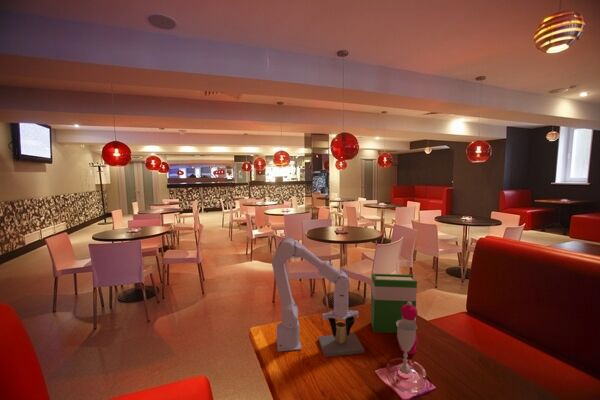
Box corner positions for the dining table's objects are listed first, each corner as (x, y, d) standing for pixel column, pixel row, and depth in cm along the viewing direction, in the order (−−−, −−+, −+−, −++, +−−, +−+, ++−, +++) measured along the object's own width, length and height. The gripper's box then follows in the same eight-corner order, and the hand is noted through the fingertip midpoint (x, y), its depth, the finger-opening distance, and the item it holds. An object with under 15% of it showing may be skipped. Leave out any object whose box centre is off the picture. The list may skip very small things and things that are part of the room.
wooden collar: (336, 342, 108) (336, 328, 108) (332, 335, 113) (333, 321, 113) (348, 341, 109) (348, 327, 109) (344, 334, 114) (344, 320, 114)
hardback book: (409, 324, 127) (411, 274, 125) (414, 333, 120) (417, 281, 118) (370, 322, 129) (372, 273, 126) (373, 331, 122) (375, 279, 119)
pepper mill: (419, 356, 105) (421, 306, 103) (399, 354, 107) (401, 305, 105) (415, 344, 112) (417, 298, 110) (396, 342, 114) (398, 296, 112)
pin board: (324, 357, 105) (324, 343, 105) (318, 339, 116) (318, 327, 115) (364, 352, 107) (364, 339, 107) (354, 336, 118) (354, 324, 118)
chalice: (398, 363, 102) (400, 317, 100) (417, 371, 97) (420, 323, 95) (391, 374, 96) (393, 326, 94) (411, 384, 92) (413, 333, 90)
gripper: (325, 308, 105) (325, 342, 106) (362, 306, 107) (361, 339, 108) (321, 300, 112) (321, 331, 113) (355, 298, 114) (355, 328, 115)
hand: (340, 334), depth 111 cm, fingers closed on wooden collar, 5 cm apart
